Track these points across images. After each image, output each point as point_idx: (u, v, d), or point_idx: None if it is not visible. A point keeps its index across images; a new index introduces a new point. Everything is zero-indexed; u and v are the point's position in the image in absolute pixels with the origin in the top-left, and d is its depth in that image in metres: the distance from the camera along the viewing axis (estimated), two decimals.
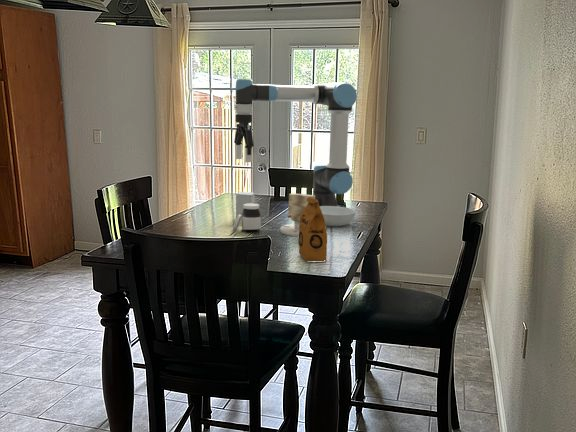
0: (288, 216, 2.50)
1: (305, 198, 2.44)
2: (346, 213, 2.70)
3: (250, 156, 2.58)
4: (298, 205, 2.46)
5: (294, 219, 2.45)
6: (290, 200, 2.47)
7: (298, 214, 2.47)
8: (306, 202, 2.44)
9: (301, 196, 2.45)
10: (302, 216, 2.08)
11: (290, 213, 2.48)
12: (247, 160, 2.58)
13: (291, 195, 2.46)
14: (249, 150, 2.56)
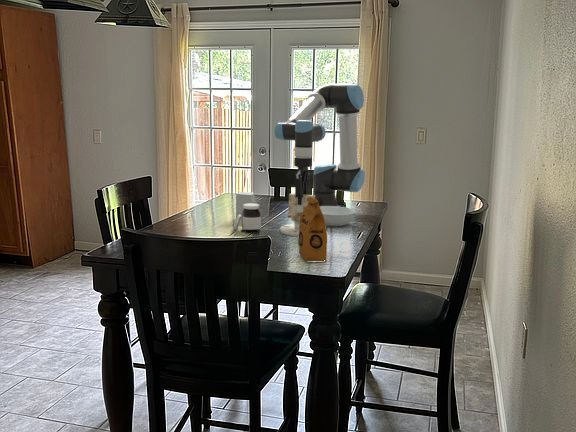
0: (288, 216, 2.50)
1: (305, 198, 2.44)
2: (346, 213, 2.70)
3: (301, 206, 2.45)
4: None
5: (294, 219, 2.45)
6: (290, 200, 2.47)
7: (298, 214, 2.47)
8: (306, 202, 2.44)
9: None
10: (302, 216, 2.08)
11: (290, 213, 2.48)
12: (298, 210, 2.45)
13: (291, 195, 2.46)
14: (299, 200, 2.43)
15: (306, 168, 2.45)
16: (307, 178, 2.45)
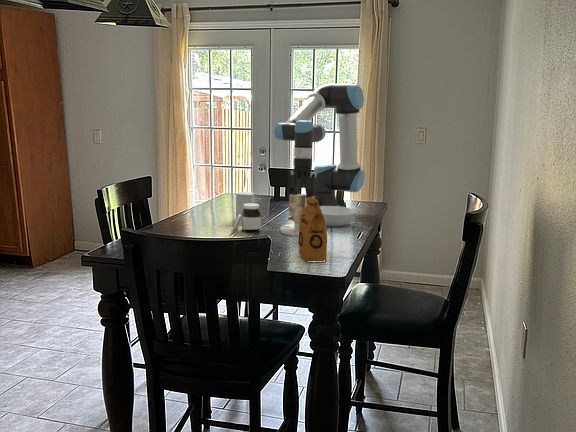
0: (290, 218, 2.45)
1: None
2: (346, 213, 2.70)
3: None
4: (301, 206, 2.45)
5: None
6: (294, 202, 2.43)
7: None
8: None
9: (304, 196, 2.45)
10: (302, 216, 2.08)
11: (294, 215, 2.44)
12: None
13: (295, 197, 2.43)
14: None
15: None
16: None
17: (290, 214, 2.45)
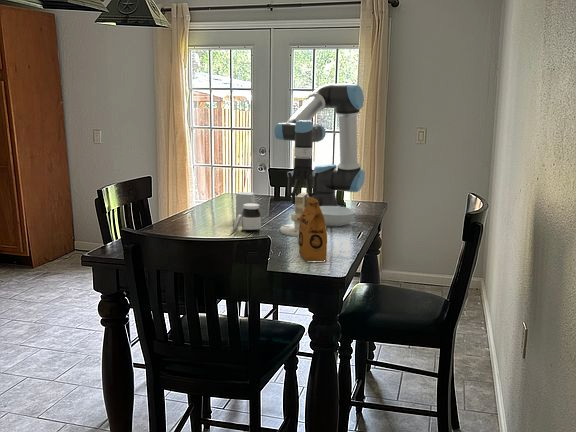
0: (299, 220, 2.42)
1: (306, 196, 2.48)
2: (346, 213, 2.70)
3: None
4: (304, 205, 2.46)
5: None
6: (303, 202, 2.42)
7: None
8: (306, 200, 2.49)
9: (305, 196, 2.46)
10: (302, 216, 2.08)
11: None
12: None
13: (303, 197, 2.42)
14: None
15: None
16: (297, 178, 2.46)
17: (298, 215, 2.42)
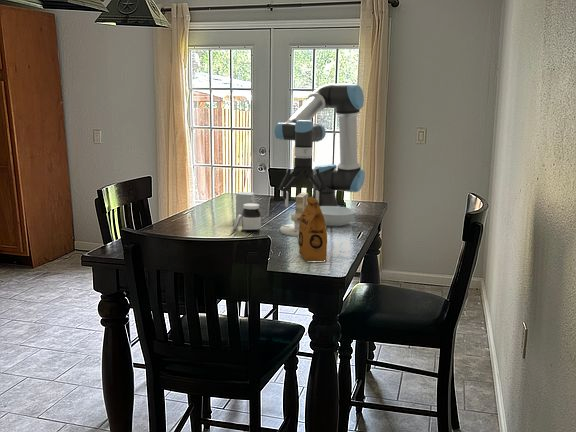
0: (299, 220, 2.42)
1: (306, 196, 2.48)
2: (346, 213, 2.70)
3: None
4: (304, 205, 2.46)
5: None
6: (303, 202, 2.42)
7: None
8: (306, 200, 2.49)
9: (305, 196, 2.46)
10: (302, 216, 2.08)
11: None
12: None
13: (303, 197, 2.42)
14: (320, 193, 2.48)
15: None
16: (295, 176, 2.45)
17: (298, 215, 2.42)
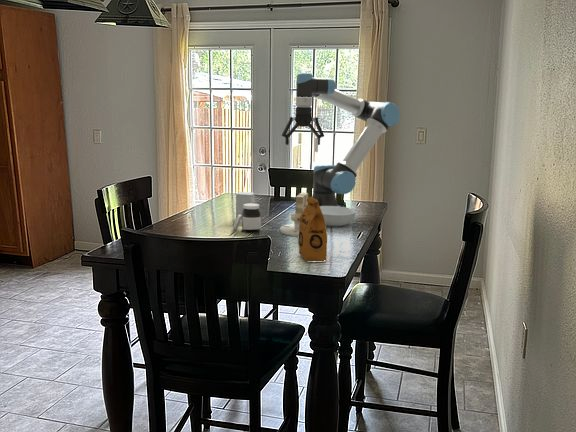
0: (299, 220, 2.42)
1: (306, 196, 2.48)
2: (346, 213, 2.70)
3: None
4: (304, 205, 2.46)
5: None
6: (303, 202, 2.42)
7: None
8: (306, 200, 2.49)
9: (305, 196, 2.46)
10: (302, 216, 2.08)
11: None
12: None
13: (303, 197, 2.42)
14: (319, 140, 2.75)
15: None
16: None
17: (298, 215, 2.42)
